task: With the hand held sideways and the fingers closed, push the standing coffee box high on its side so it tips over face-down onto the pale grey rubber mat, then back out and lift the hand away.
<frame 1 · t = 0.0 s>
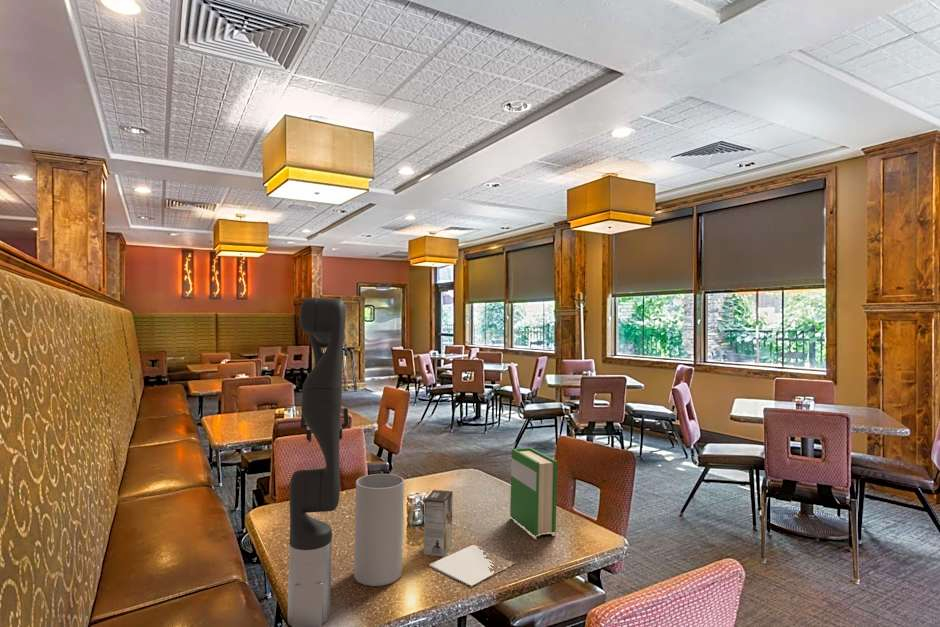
hand: (324, 441, 162), 29 cm above the table, tool pointing down, fingers open, 8 cm apart
hardback book: (531, 528, 172), on the table
mat: (472, 565, 145), on the table
coffee box: (437, 549, 155), on the table
cylinder vase: (377, 576, 138), on the table
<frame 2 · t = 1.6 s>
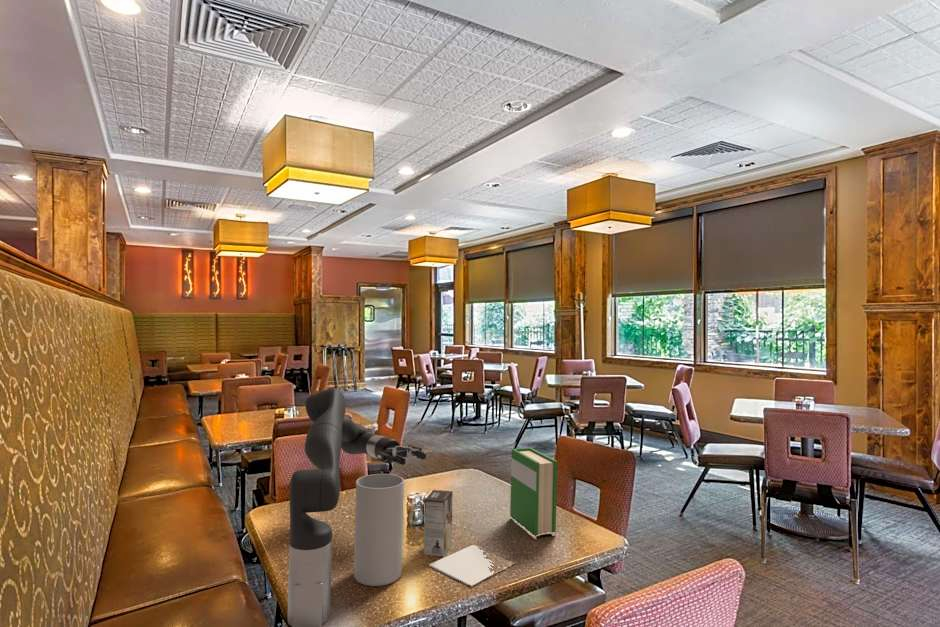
hand: (415, 458, 162), 24 cm above the table, tool horizontal, fingers open, 8 cm apart
nothing on the table moved.
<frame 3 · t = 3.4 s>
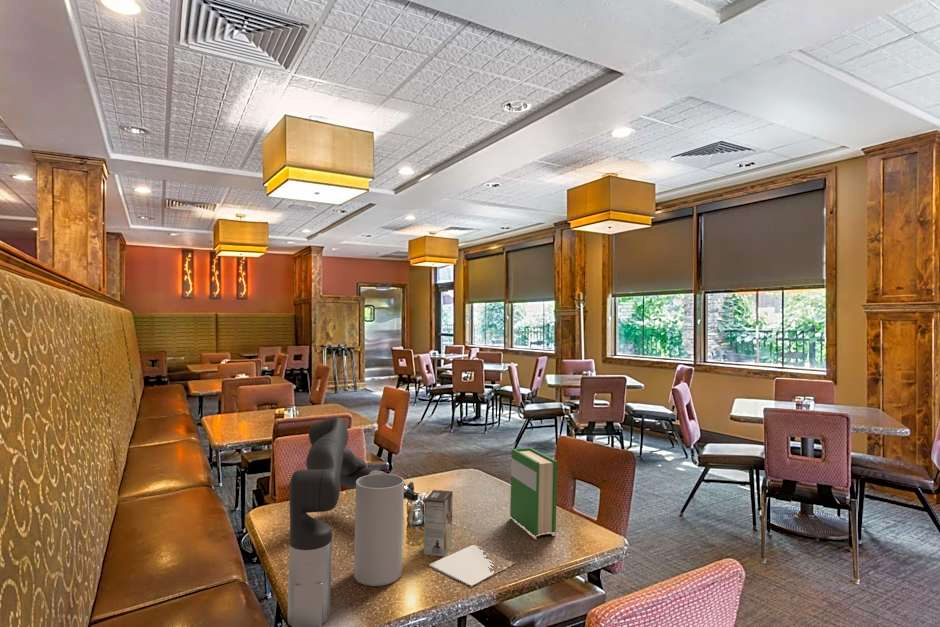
hand: (416, 497, 162), 13 cm above the table, tool horizontal, fingers closed
nothing on the table moved.
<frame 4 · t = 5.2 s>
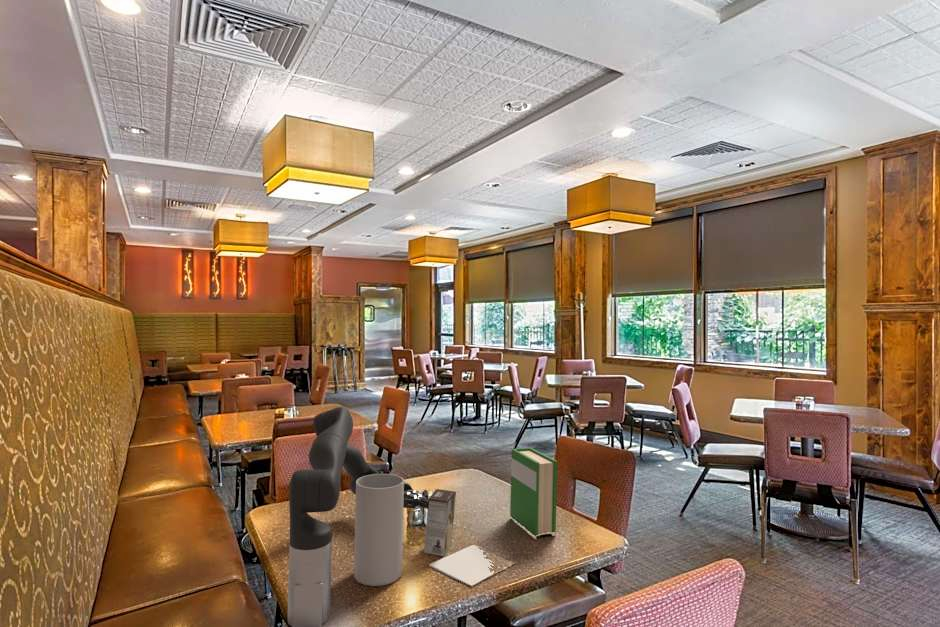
hand: (431, 505, 157), 12 cm above the table, tool horizontal, fingers closed
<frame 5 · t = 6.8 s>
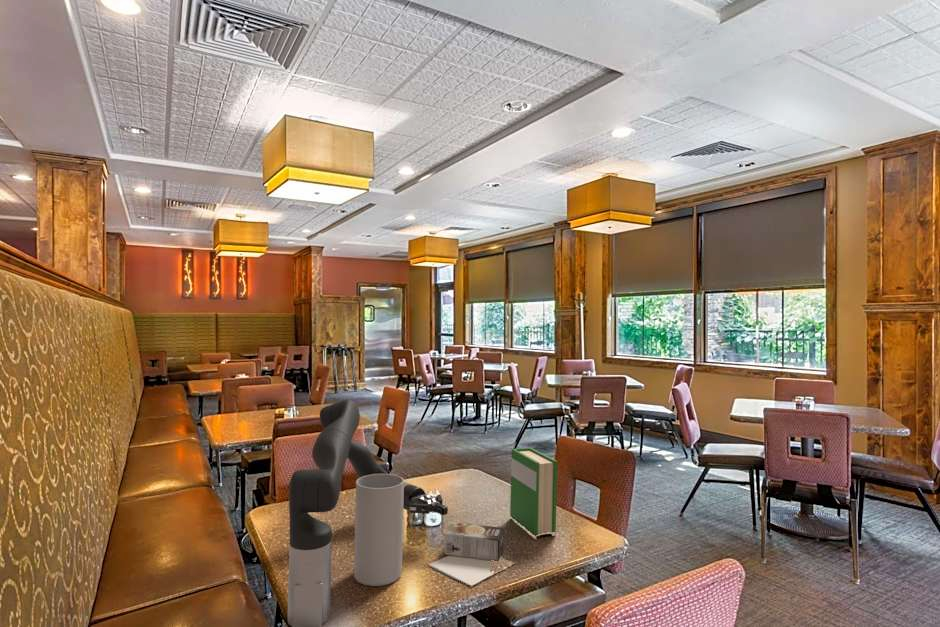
hand: (445, 511, 153), 12 cm above the table, tool horizontal, fingers closed
coffee box: (447, 537, 154), point 4 cm above the table, touching mat
everything else where it was.
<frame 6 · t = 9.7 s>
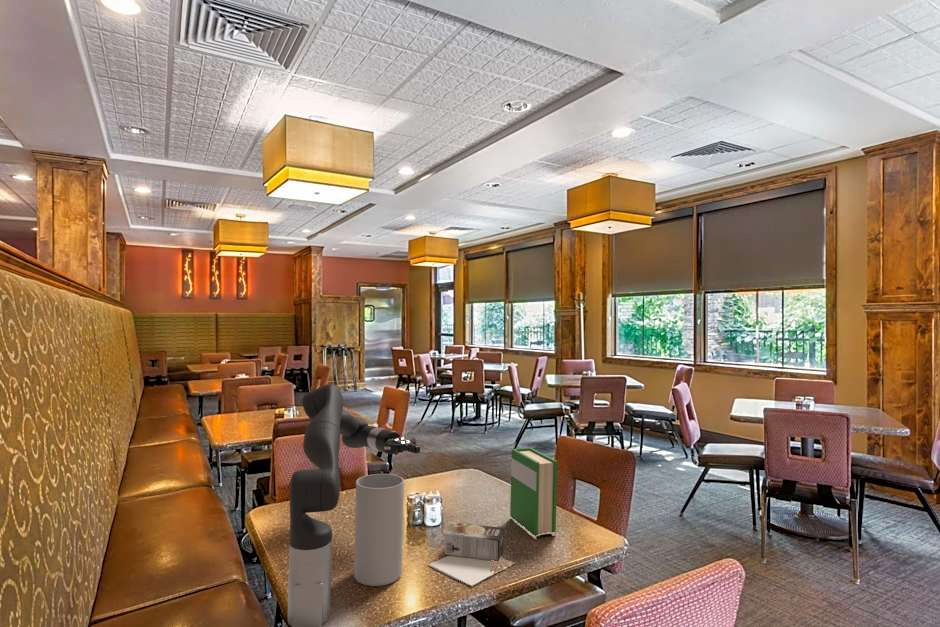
hand: (418, 449, 162), 27 cm above the table, tool horizontal, fingers closed
nothing on the table moved.
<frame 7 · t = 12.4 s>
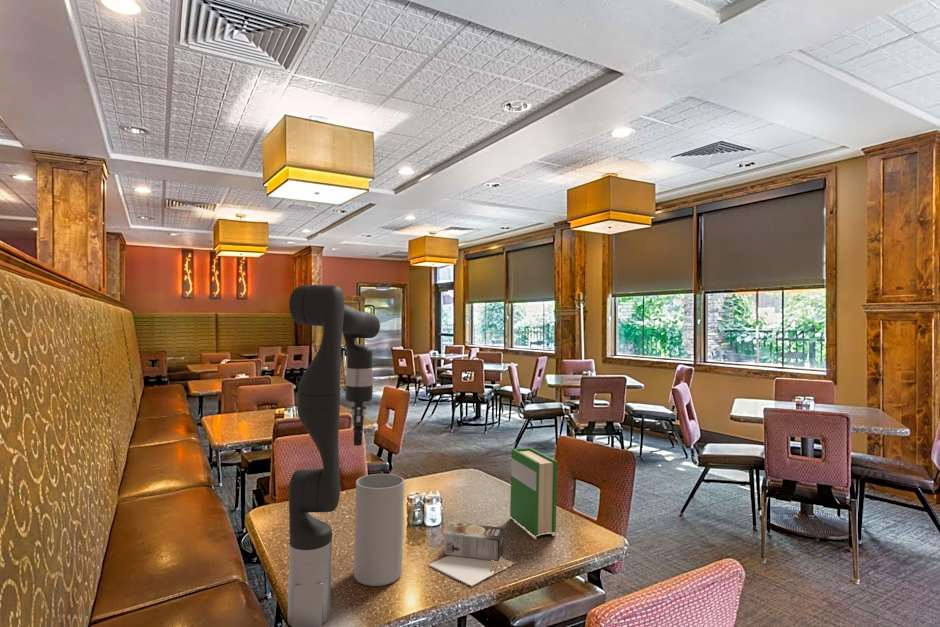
hand: (357, 444, 148), 32 cm above the table, tool pointing down, fingers closed
nothing on the table moved.
at the end: coffee box tilted 90°; coffee box touching mat; coffee box 11.5 cm from the mat (horizontally) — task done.
